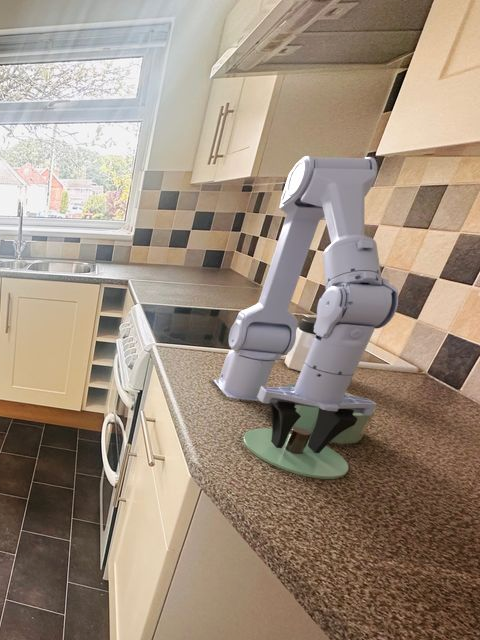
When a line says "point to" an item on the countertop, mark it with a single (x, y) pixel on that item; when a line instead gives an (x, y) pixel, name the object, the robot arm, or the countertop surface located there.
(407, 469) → the countertop surface
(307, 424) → the tin
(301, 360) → the jar
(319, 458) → the lid
